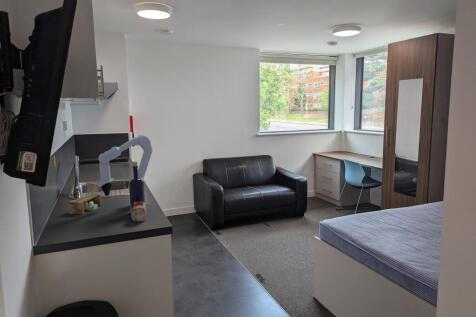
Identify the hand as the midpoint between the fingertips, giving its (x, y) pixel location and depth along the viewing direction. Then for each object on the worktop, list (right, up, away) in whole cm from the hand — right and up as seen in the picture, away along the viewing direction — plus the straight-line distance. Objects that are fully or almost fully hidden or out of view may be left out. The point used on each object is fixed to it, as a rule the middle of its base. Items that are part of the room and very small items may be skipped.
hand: (107, 195), depth 207 cm
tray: (-12, -9, +1) cm, 14 cm away
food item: (+25, -11, -19) cm, 34 cm away
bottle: (+21, -9, -7) cm, 24 cm away
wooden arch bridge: (-13, -8, +2) cm, 16 cm away
